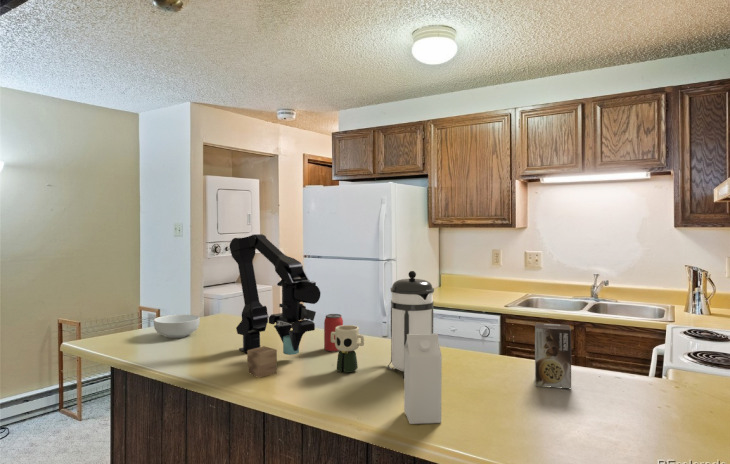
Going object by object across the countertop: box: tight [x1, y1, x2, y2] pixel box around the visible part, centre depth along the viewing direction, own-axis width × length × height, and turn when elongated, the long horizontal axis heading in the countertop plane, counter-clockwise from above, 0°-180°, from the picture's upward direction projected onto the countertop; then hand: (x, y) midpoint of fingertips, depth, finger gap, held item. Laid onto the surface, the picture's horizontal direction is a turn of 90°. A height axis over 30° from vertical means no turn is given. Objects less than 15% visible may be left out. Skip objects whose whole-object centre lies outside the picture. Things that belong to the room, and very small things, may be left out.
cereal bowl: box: [153, 314, 201, 339], centre depth 181 cm, size 17×17×7 cm
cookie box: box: [534, 322, 572, 389], centre depth 127 cm, size 9×6×16 cm
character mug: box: [331, 324, 365, 373], centre depth 138 cm, size 11×7×13 cm, turn 67°
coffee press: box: [387, 270, 435, 380], centre depth 138 cm, size 17×16×30 cm
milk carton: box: [403, 333, 443, 425], centre depth 105 cm, size 7×7×19 cm
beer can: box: [323, 313, 344, 353], centre depth 161 cm, size 7×7×12 cm
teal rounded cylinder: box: [282, 335, 300, 356], centre depth 149 cm, size 5×5×5 cm
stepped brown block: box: [246, 345, 278, 366], centre depth 136 cm, size 6×6×4 cm
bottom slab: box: [247, 361, 278, 378], centre depth 136 cm, size 6×6×4 cm
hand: (291, 349), depth 149 cm, fingers closed on teal rounded cylinder, 5 cm apart
